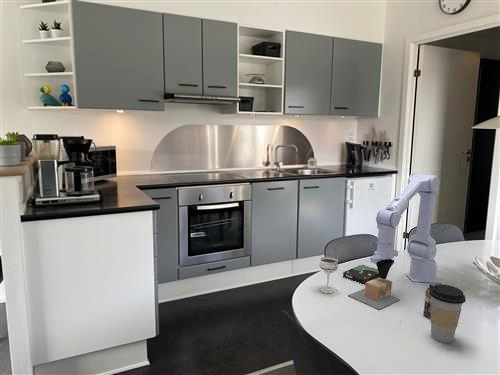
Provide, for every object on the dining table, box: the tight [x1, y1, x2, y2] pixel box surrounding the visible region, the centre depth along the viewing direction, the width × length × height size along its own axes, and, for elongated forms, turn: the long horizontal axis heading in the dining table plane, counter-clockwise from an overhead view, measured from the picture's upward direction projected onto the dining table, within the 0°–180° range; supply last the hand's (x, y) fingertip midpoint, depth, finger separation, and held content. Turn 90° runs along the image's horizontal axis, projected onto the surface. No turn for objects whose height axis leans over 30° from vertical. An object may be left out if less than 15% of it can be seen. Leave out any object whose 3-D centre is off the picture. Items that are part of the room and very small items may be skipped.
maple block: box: [364, 278, 393, 301], centre depth 138 cm, size 5×5×9 cm
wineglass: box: [319, 256, 339, 294], centre depth 141 cm, size 7×7×12 cm
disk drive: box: [342, 264, 379, 286], centre depth 156 cm, size 10×3×15 cm
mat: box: [347, 287, 401, 311], centre depth 136 cm, size 13×13×1 cm
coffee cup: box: [429, 283, 466, 344], centre depth 110 cm, size 9×9×15 cm
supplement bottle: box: [423, 281, 442, 320], centre depth 123 cm, size 6×6×11 cm
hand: (382, 278), depth 138 cm, fingers closed
